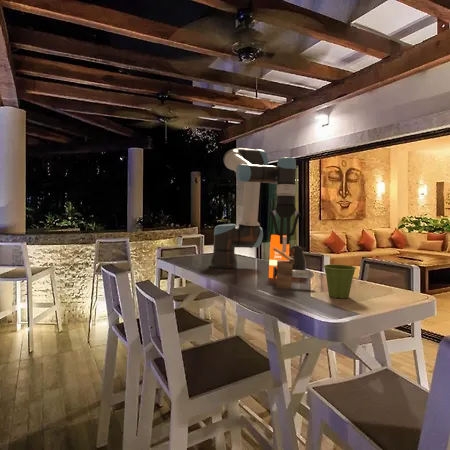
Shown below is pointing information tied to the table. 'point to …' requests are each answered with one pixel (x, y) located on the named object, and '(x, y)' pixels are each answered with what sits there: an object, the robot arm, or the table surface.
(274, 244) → the orange juice
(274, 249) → the plate
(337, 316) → the table surface
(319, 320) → the table surface
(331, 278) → the plant pot
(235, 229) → the robot arm
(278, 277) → the hitch block
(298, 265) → the pump dispenser
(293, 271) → the pin
